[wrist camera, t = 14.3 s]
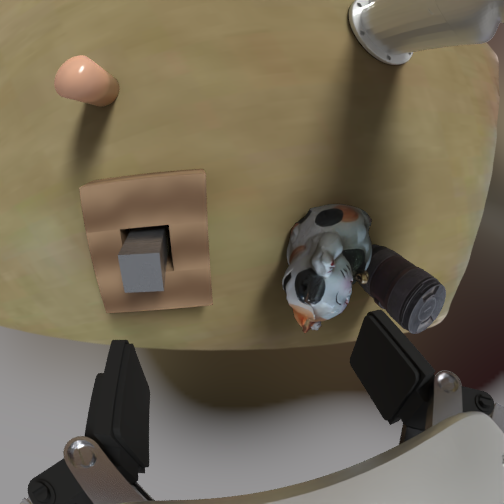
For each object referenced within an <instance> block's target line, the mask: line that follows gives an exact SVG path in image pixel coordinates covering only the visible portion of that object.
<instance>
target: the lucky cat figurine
mask: <svg viewBox="0 0 504 504" xmlns="http://www.w3.org/2000/svg"><path fill="white" fill-rule="evenodd" d="M371 222H372V219H371V218H370V217H369V215H368V214H367V213H366V212H365V211H363V210H361V209H359V208H357V207H354V206H350V205H344V204H330V205H324V206H320V207H314V208H310V210H309V211H308V213H307V214H306V216H305V217H304V218H303V219H301V220H300V221H298V222H297V223H295V225H294V227H293V228H292V230H291V236H290V241H289V245H288V248H287V261H288V264H289V267H288V268H287V270H286V272H285V274H284V277H283V279H282V285H283V289H284V290H285V292H286V294H287V300H288V303H289V305H290V306H291V307H292V308H293V313H294V317H295V319H296V320H297V322H298V324H299V325H300V326H301V327H302V328H303V332H304V333H306V332H307V331H308V330H310V329H312V330H318V328H319V327H320V326H321V321H325V320H328V319H330V318H332V317H335V316H336V315H338V314H340V313H342V312H343V310H344V309H345V308H346V307H347V304H348V303H349V300H350V295H351V292H352V284H354V283H355V282H356V281H357V282H359V283H360V284H366V283H367V282H368V279H369V273H368V272H367V271H366V270H367V268H368V266H369V264H370V261H371V256H372V244H371V240H370V237H369V233H368V231H369V226H371Z"/></svg>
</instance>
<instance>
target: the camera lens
mask: <svg viewBox="0 0 504 504" xmlns="http://www.w3.org/2000/svg"><path fill="white" fill-rule="evenodd" d="M366 271H367V272H368V273H369V279H368V282H367V283H366V284H360V283H359V284H360V285H361V286H362V287H363V289H364V290H365V291H366V292H367V293H368V294H369V295H370V296H371V297H372V298H374V301H375V303H376V304H378V305H379V306H380V307H381V308H383V309H386V311H387V312H388V313H389V315H390V316H391V317H392V318H393V319H394V320H395V321H396V322H397V323H398V324H399V325H401V326H402V328H404V329H406V330H408V331H409V332H410V333H412V334H415V333H420V332H421V331H423V330H425V329H426V328H427V327H428V326H430V325H431V324H432V322H433V321H434V320H435V319H436V318H437V316H438V315H439V313H440V311H441V309H442V307H443V304H444V301H445V297H446V290H445V287H444V286H443V285H442V284H441V283H440V282H439V281H438V280H437V279H436V278H434V277H433V276H432V275H430V274H429V273H427V272H426V271H424V270H423V269H421V268H419V267H416V266H415V265H413V264H412V263H410V262H409V261H407V260H406V259H404V258H403V257H402V256H401V255H399V254H398V253H396V252H395V251H393V250H391V249H388V248H386V247H384V246H379V245H372V256H371V261H370V264H369V266H368V268H367V270H366Z"/></svg>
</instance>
